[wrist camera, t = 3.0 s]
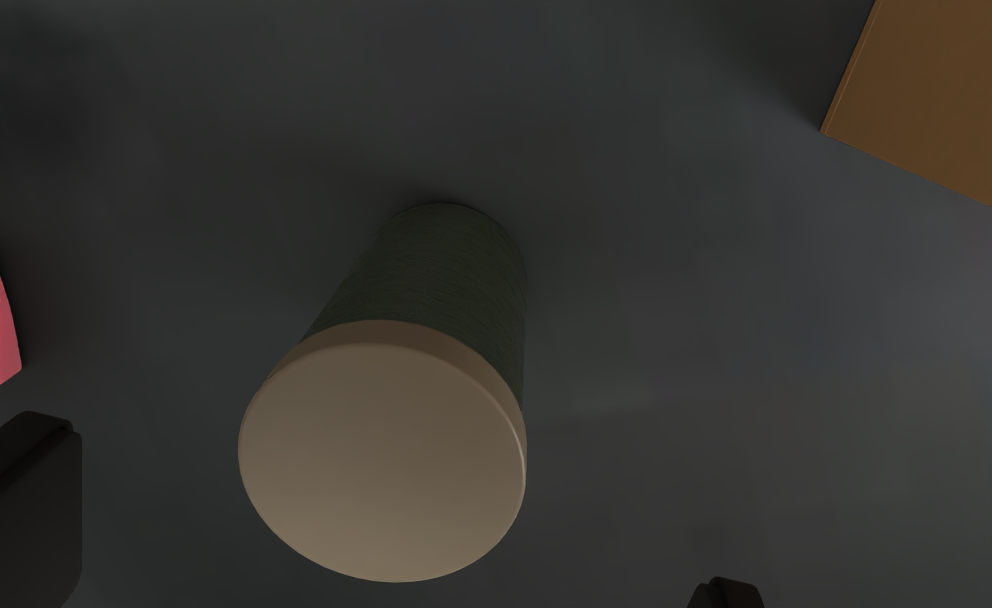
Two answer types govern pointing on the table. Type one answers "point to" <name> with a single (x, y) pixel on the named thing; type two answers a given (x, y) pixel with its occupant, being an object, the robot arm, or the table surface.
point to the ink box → (7, 340)
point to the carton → (922, 92)
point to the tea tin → (400, 406)
